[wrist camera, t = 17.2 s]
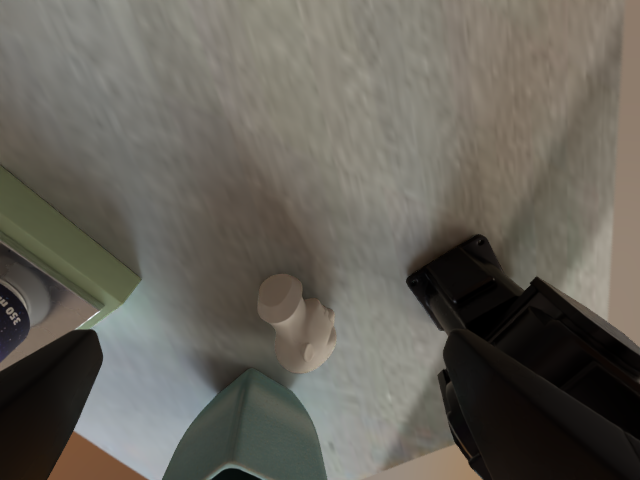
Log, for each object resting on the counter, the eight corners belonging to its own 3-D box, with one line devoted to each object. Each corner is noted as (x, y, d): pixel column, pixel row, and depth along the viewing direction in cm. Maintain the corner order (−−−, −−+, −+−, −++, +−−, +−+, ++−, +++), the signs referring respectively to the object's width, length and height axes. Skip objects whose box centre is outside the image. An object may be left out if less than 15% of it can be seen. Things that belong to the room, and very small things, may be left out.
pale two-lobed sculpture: (331, 328, 26) (276, 356, 25) (308, 251, 23) (243, 279, 21) (355, 363, 23) (293, 398, 22) (333, 278, 19) (256, 314, 18)
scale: (142, 279, 21) (121, 306, 19) (49, 348, 23) (18, 382, 20) (-3, 162, 17) (-56, 176, 15) (-102, 258, 19) (-165, 286, 16)
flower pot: (181, 398, 27) (136, 530, 19) (247, 340, 25) (228, 462, 17) (258, 435, 30) (248, 560, 22) (322, 387, 28) (336, 507, 20)
